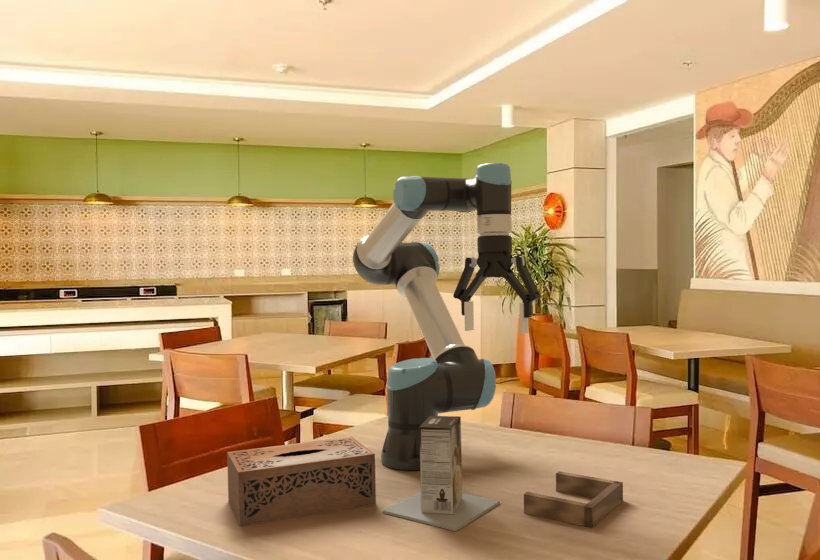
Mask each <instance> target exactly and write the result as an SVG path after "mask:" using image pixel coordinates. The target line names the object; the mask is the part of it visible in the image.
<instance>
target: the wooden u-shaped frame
mask: <svg viewBox="0 0 820 560" xmlns="http://www.w3.org/2000/svg"><path fill="white" fill-rule="evenodd" d="M623 483H624V482H623V481H616V480H611V479H605V478H599V477H595V476H588V475H582V474H578V473H577V474H576V473H570V472H567V471H566V472H564V471H557V472H556V473H555V491H556V492H557V491H558V492H563V493H568V494H573V495H579V496H583V497H589V498H592V499H591V500H589V501H588V502H582V501H576V500H571V499H566V498H563V497H562V498H561V497H557V496H551V495H546V494H541V493H537V492H531V491H526V492H525V493H523V513H524V514H527V515H532V516H536V517H542V518H546V519H551V520H554V521H559V522H564V523H568V524H572V525H573V524H574V525H579V526H582V527H586V528H594V527H595V526H596V525H598V523H600V522H601V521H602V520H603V519H604V518H605V517H607V516H608V514H610V513H611V512H612V511H613V510H614V509H615V508H616V507H618V505H620V504H621V503H622V502H623V501H624V491H623V490H624V484H623Z"/></svg>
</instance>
